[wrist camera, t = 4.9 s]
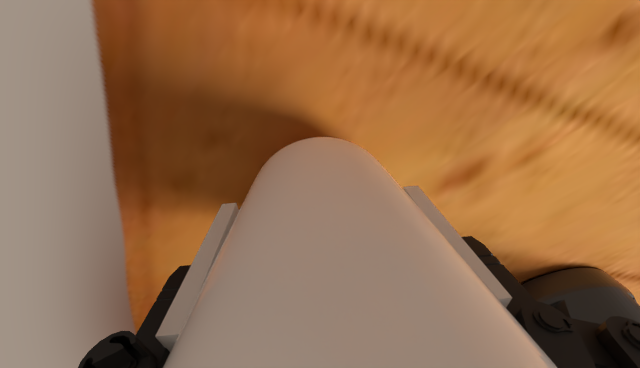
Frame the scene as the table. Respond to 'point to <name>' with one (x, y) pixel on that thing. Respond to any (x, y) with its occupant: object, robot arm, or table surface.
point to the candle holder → (343, 278)
